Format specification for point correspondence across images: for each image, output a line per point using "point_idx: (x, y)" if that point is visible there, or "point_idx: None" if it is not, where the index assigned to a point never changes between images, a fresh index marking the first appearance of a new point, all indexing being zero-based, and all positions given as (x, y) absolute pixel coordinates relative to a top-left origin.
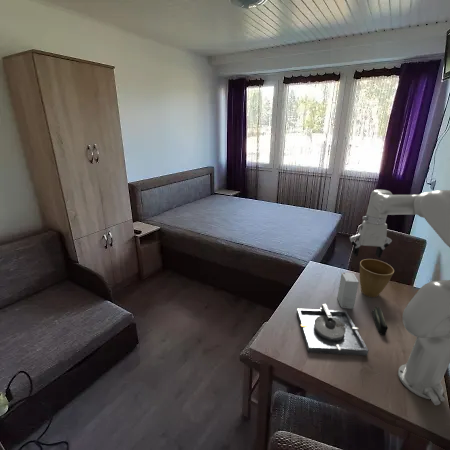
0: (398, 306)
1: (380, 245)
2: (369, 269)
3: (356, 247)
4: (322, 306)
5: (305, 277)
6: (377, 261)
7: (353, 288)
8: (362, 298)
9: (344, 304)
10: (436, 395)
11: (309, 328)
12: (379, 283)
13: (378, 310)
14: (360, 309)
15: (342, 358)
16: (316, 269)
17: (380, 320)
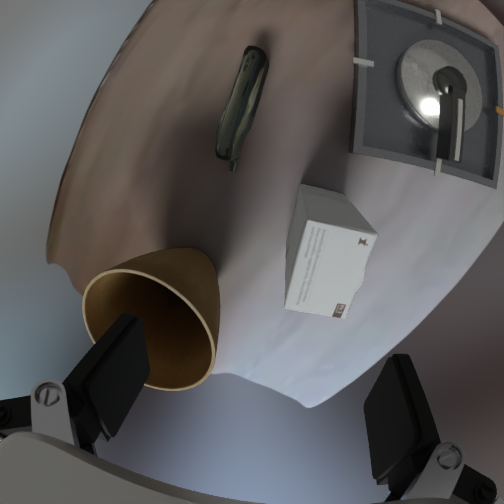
0: (131, 199)
1: (54, 459)
2: (164, 349)
3: (450, 450)
4: (459, 155)
5: (374, 357)
6: None
7: (326, 209)
8: (231, 243)
9: (337, 194)
10: None
11: (482, 108)
12: (162, 256)
13: (232, 127)
14: (271, 181)
15: (421, 8)
16: (313, 390)
17: (255, 74)
